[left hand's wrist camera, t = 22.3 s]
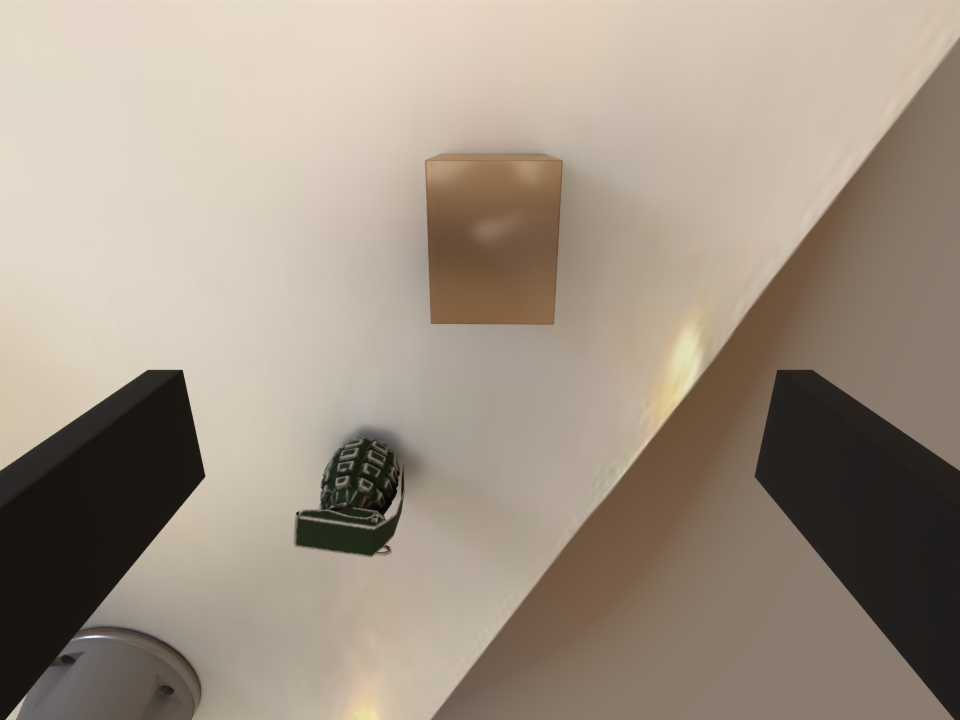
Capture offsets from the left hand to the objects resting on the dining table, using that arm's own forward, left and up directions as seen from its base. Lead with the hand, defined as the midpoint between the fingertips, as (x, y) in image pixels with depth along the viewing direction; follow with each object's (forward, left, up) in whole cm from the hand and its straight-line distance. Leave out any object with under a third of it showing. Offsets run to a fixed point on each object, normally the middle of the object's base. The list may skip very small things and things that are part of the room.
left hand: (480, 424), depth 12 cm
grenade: (-21, +1, -28) cm, 35 cm away
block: (+1, 0, -28) cm, 28 cm away
